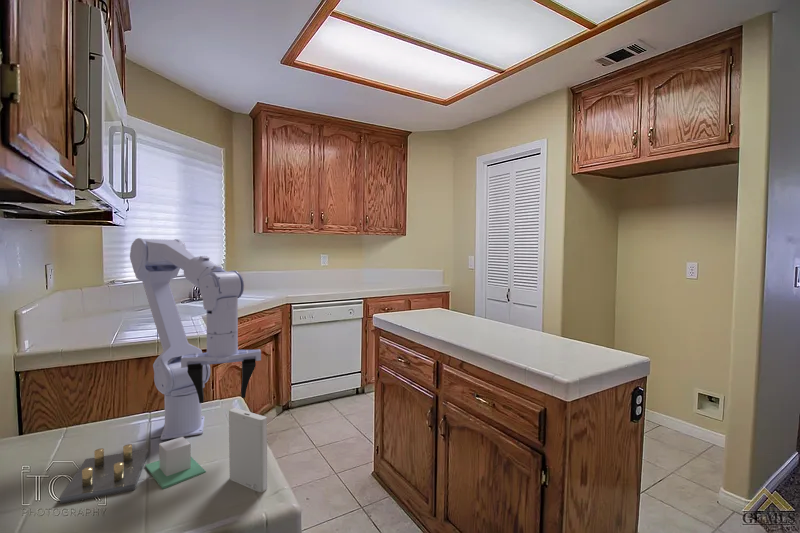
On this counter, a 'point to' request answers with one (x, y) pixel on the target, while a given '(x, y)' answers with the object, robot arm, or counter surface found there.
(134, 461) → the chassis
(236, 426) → the external hard drive
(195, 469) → the board
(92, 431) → the counter surface
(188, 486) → the counter surface
